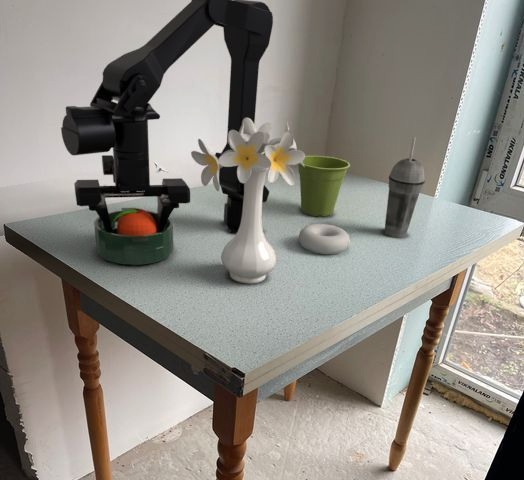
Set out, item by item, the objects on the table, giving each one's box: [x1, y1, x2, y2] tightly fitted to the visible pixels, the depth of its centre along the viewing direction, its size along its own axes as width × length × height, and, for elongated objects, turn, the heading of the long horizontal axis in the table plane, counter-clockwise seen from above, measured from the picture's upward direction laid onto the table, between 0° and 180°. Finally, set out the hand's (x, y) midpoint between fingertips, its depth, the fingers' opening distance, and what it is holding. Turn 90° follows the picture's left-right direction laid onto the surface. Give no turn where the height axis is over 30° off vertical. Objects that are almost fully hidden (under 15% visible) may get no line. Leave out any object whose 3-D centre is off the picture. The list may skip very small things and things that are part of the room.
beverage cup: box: [384, 135, 426, 238], centre depth 114 cm, size 7×7×20 cm
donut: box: [298, 223, 351, 255], centre depth 109 cm, size 10×4×10 cm
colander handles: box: [121, 207, 149, 245], centre depth 98 cm, size 3×17×1 cm, turn 18°
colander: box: [93, 209, 174, 266], centre depth 99 cm, size 13×13×6 cm
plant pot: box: [297, 155, 351, 217], centre depth 125 cm, size 12×12×11 cm
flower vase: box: [190, 118, 306, 285], centre depth 88 cm, size 13×18×25 cm
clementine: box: [112, 207, 157, 236], centre depth 98 cm, size 8×7×7 cm
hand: (135, 239), depth 100 cm, fingers closed on clementine, 8 cm apart
